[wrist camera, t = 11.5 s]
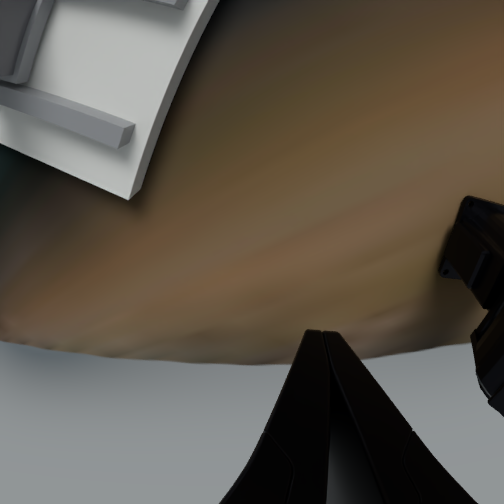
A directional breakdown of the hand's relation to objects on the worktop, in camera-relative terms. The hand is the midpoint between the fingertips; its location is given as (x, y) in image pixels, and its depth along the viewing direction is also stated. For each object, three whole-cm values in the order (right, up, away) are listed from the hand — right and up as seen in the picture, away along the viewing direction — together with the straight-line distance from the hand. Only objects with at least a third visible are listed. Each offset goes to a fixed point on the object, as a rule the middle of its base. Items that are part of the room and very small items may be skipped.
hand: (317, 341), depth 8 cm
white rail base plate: (-13, +16, +7) cm, 22 cm away
